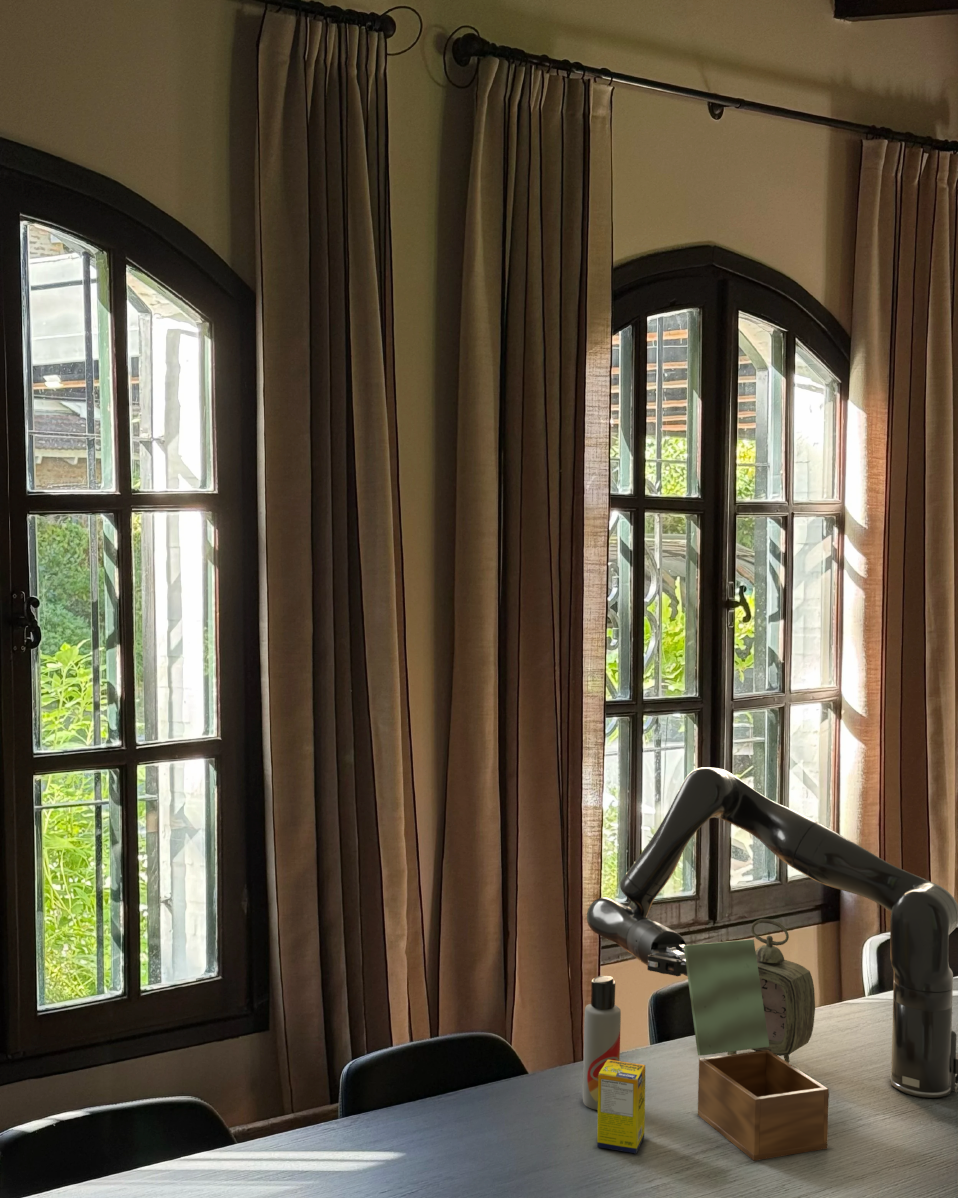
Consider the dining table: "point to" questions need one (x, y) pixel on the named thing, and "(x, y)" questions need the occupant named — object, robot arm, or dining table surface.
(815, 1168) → the dining table surface
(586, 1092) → the lotion bottle
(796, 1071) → the box
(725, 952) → the box lid
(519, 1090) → the dining table surface
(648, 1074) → the dining table surface
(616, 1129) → the supplement box
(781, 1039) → the tabletop clock
